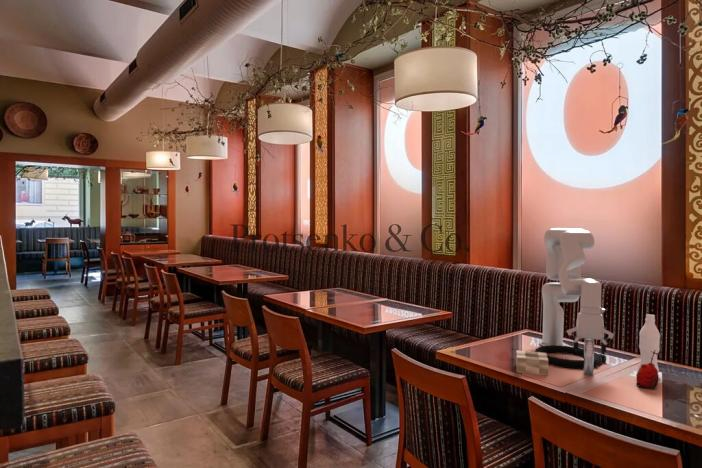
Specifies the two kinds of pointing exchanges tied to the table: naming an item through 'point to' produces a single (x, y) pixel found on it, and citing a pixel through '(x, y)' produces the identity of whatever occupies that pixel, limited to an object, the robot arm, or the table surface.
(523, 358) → the cream rectangular block
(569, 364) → the cable lock
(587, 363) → the peg
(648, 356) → the water bottle
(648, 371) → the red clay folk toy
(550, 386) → the table surface
